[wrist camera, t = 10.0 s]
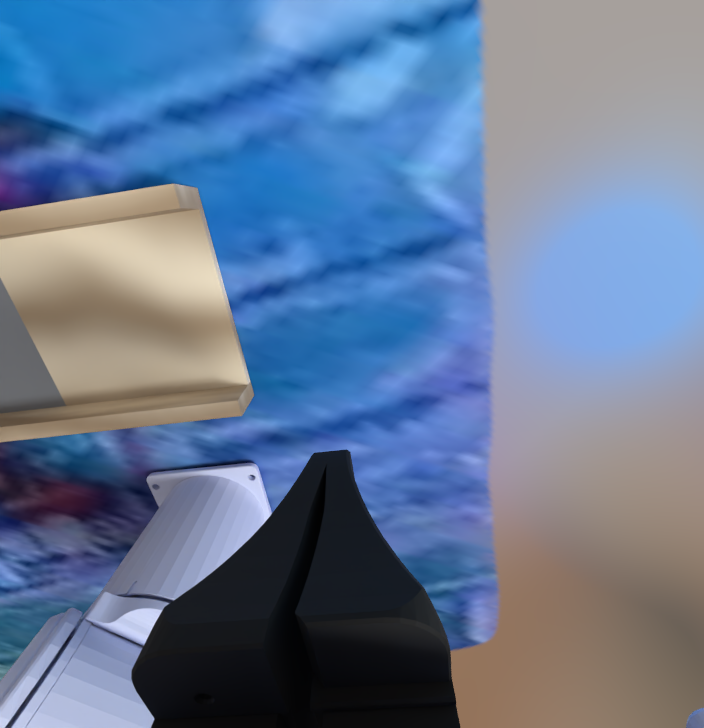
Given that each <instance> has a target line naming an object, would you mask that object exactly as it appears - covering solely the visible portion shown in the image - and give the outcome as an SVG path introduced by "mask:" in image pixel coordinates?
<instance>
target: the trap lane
mask: <svg viewBox="0 0 704 728" xmlns="http://www.w3.org/2000/svg"><path fill="white" fill-rule="evenodd" d="M253 396H254V393H253V389H252V385H251V382H250V378H249V374H248V371H247V367H246V363H245V360H244V356H243V353H242V349H241V345H240V342H239V338H238V334H237V331H236V327H235V323H234V320H233V316H232V313H231V309H230V305H229V302H228V298H227V294H226V291H225V287H224V283H223V280H222V276H221V273H220V269H219V265H218V262H217V258H216V254H215V251H214V247H213V243H212V240H211V236H210V232H209V229H208V225H207V222H206V218H205V214H204V211H203V207H202V203H201V200H200V196H199V192H198V189H197V188H195V187H189V186H184V185H178V184H167V185H161V186H155V187H149V188H142V189H136V190H130V191H124V192H117V193H111V194H105V195H99V196H92V197H86V198H80V199H74V200H67V201H61V202H55V203H49V204H42V205H36V206H30V207H24V208H17V209H11V210H5V211H0V442H7V441H16V440H25V439H35V438H44V437H53V436H62V435H71V434H80V433H89V432H98V431H107V430H116V429H126V428H135V427H144V426H153V425H162V424H171V423H180V422H189V421H198V420H208V419H217V418H226V417H235V416H242V415H243V413H244V412H245V410H246V408H247V407H248V405H249V403H250V402H251V400H252V398H253Z"/></svg>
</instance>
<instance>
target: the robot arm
mask: <svg viewBox="0 0 704 728" xmlns="http://www.w3.org/2000/svg"><path fill="white" fill-rule="evenodd" d="M250 475H254V476H255V477H252V476H250ZM146 480H147V483H148V485H149V487H150V489H151V492H152V494H153V496H154V498H155V500H156V503H157V505H158V507H159V509H158V510H157V512H156V513H155V514H154V516H153V517H152V519H151V520H150V522H149V523H148V525H147V526H146V528H145V529H144V530H143V532H142V533H141V535H140V536H139V538H138V539H137V541H136V542H135V543H134V545H133V546H132V548H131V549H130V551H129V552H128V554H127V555H126V557H125V558H124V559H123V561H122V562H121V564H120V565H119V567H118V568H117V570H116V571H115V573H114V574H113V575H112V577H111V578H110V580H109V581H108V583H107V584H106V586H105V587H104V588H103V590H102V591H101V593H100V594H99V596H98V597H97V599H96V600H95V601H94V603H93V604H92V605H91V606H90V607H89V609H88V610H87V611H86V612H85V613H84V615H83V616H82V612H81V611H79V610H77V609H75V608H71V609H68V610H67V611H66V612H65V613H61V614H58V615H56V616H53V617H51V618H49V620H48V621H47V622H46V623H45V625H44V626H43V627H42V628H41V630H40V631H39V632H38V634H37V635H36V636H35V637H34V639H33V640H32V641H31V643H30V644H29V645H28V646H27V648H26V649H25V650H24V651H23V653H22V654H21V655H20V657H19V658H18V659H17V661H16V662H15V663H14V664H13V666H12V667H11V668H10V670H9V671H8V672H7V673H6V675H5V676H4V677H3V679H2V680H1V681H0V728H460V723H459V718H458V714H457V708H456V698H455V693H454V688H453V683H452V677H451V657H450V656H451V655H450V647H449V643H448V639H447V636H446V633H445V630H444V628H443V626H442V623H441V621H440V619H439V617H438V614H437V612H436V610H435V608H434V606H433V604H432V602H431V601H430V599H429V597H428V595H427V593H426V591H425V589H424V588H423V586H422V585H421V584H420V583H419V582H418V581H417V580H416V579H415V578H414V576H413V575H412V574H411V573H410V572H409V571H408V569H407V568H406V567H405V566H404V565H403V563H402V562H401V561H400V559H399V558H398V557H397V556H396V554H395V553H394V551H393V550H392V549H391V547H390V546H389V544H388V543H387V542H386V540H385V539H384V537H383V536H382V534H381V532H380V531H379V529H378V528H377V526H376V524H375V523H374V521H373V519H372V517H371V515H370V514H369V512H368V510H367V508H366V506H365V504H364V501H363V499H362V497H361V495H360V492H359V490H358V487H357V484H356V482H355V478H354V472H353V466H352V460H351V454H350V452H349V451H348V450H339V451H329V452H319V453H314V454H313V455H312V456H311V458H310V460H309V461H308V463H307V465H306V466H305V468H304V469H303V471H302V473H301V474H300V476H299V477H298V479H297V480H296V482H295V483H294V485H293V486H292V488H291V489H290V491H289V492H288V493H287V495H286V496H285V498H284V499H283V500H282V501H281V503H280V504H279V505H278V507H277V508H276V509H275V511H274V512H273V513H272V512H271V509H270V505H269V502H268V499H267V495H266V492H265V489H264V485H263V482H262V478H261V475H260V472H259V468H258V466H257V465H256V464H254V463H243V464H233V465H223V466H213V467H203V468H193V469H183V470H173V471H163V472H153V473H151V474H150V475H149V476H148V477H147V479H146ZM156 484H157V485H156ZM81 616H82V617H81ZM80 617H81V618H80ZM686 728H704V708H701V709H698V710H696V711H694V712H693V713H692V714H691V715H690V716H689V718H688V720H687V725H686Z"/></svg>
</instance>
